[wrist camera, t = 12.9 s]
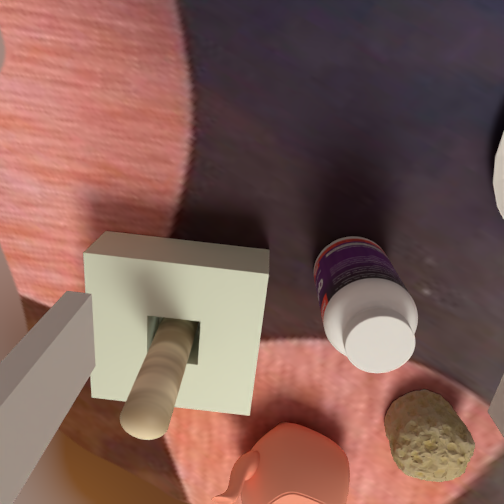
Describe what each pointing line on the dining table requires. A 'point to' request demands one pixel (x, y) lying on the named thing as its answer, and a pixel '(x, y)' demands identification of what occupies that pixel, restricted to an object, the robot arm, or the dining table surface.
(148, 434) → the dowel
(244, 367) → the bore block
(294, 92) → the dining table surface
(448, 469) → the decorative object
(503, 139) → the plate
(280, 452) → the teapot
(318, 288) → the pill bottle
